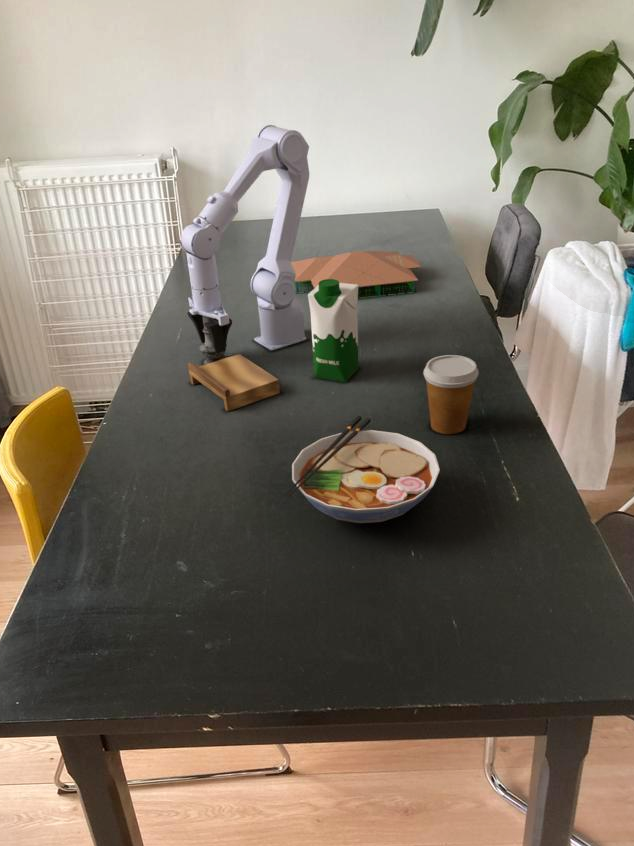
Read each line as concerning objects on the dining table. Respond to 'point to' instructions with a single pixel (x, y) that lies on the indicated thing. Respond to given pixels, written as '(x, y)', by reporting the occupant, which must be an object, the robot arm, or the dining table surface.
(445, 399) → the disposable coffee cup
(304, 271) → the house
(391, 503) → the ramen bowl
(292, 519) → the dining table surface
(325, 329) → the milk carton
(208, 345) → the grey stone finial
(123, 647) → the dining table surface
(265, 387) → the shelf stand
